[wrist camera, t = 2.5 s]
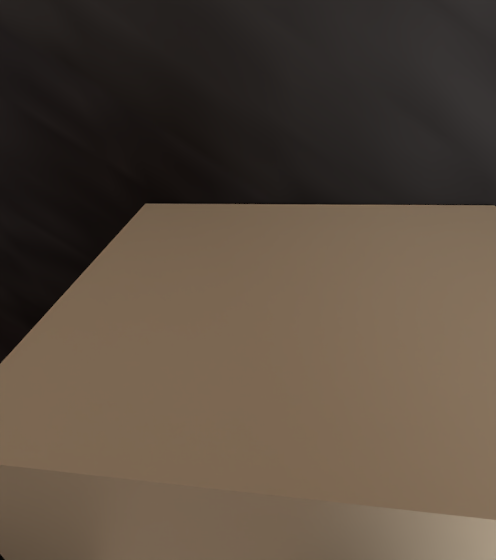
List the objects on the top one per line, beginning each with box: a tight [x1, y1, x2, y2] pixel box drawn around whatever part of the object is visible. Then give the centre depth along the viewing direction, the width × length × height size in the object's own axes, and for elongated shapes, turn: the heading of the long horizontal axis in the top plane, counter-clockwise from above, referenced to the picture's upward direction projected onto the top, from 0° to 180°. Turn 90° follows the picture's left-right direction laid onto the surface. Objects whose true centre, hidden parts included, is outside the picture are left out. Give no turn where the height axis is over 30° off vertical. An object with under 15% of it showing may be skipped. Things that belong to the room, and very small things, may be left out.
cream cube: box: [0, 204, 496, 560], centre depth 8 cm, size 8×8×7 cm
